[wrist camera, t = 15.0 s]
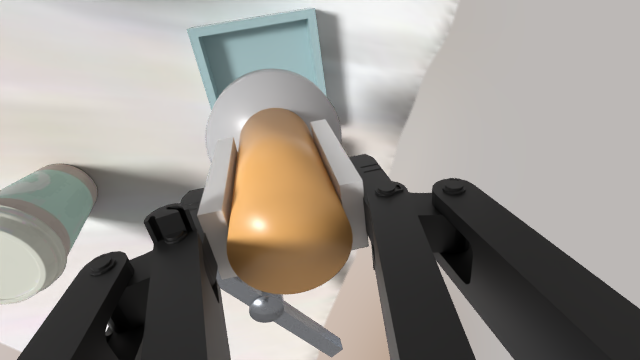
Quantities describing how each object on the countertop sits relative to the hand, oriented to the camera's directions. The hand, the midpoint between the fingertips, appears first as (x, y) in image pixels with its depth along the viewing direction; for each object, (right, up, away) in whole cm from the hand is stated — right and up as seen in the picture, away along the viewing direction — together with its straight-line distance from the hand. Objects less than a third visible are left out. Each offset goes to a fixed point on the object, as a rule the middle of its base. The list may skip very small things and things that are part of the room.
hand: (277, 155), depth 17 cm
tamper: (-1, +3, +7) cm, 8 cm away
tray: (-3, +9, +17) cm, 19 cm away
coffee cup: (-24, -2, +18) cm, 31 cm away
